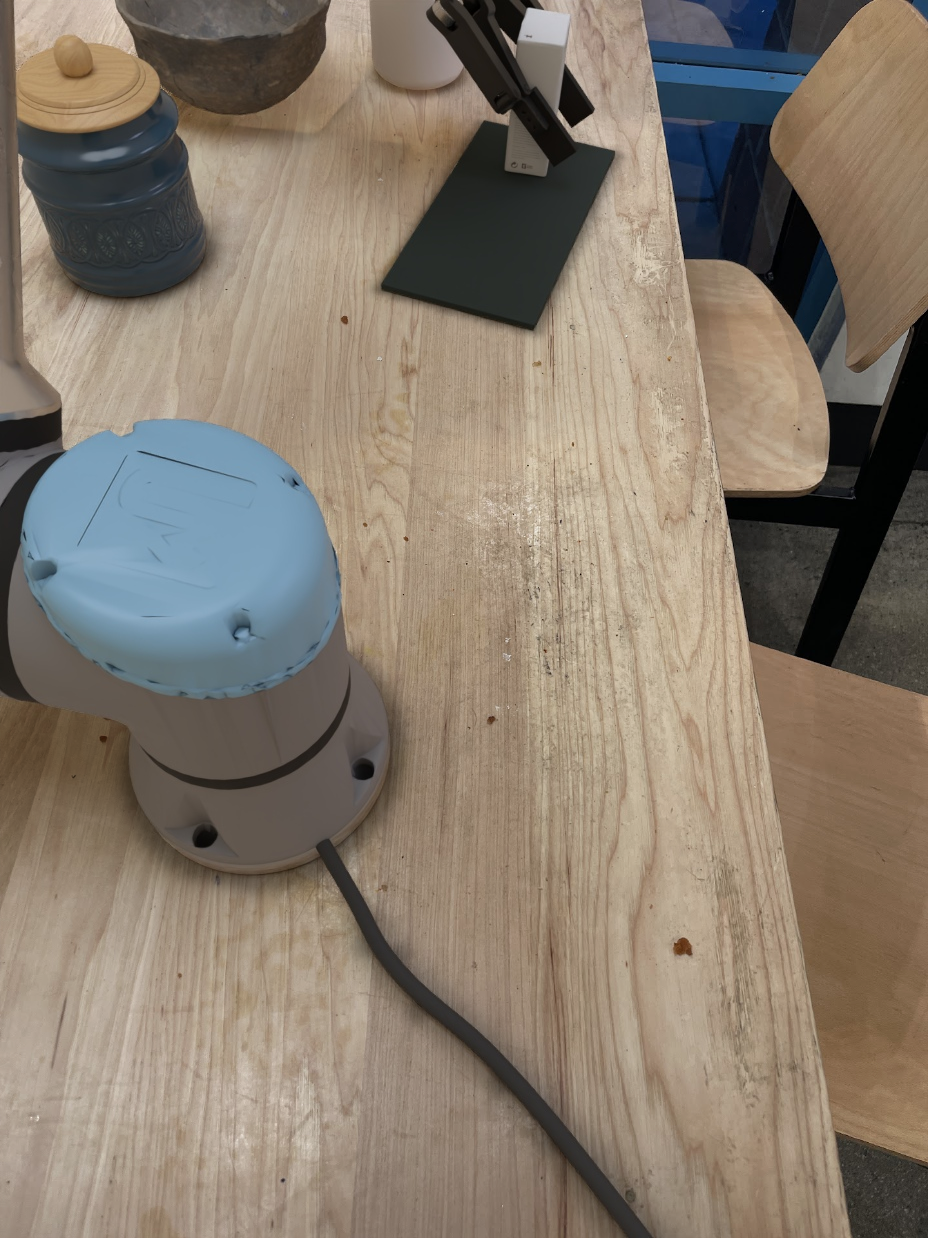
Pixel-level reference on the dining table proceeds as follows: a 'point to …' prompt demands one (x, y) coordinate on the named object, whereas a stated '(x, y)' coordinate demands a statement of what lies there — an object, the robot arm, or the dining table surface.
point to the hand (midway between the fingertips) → (574, 136)
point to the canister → (108, 169)
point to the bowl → (229, 48)
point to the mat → (499, 232)
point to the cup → (410, 46)
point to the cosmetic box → (537, 82)
